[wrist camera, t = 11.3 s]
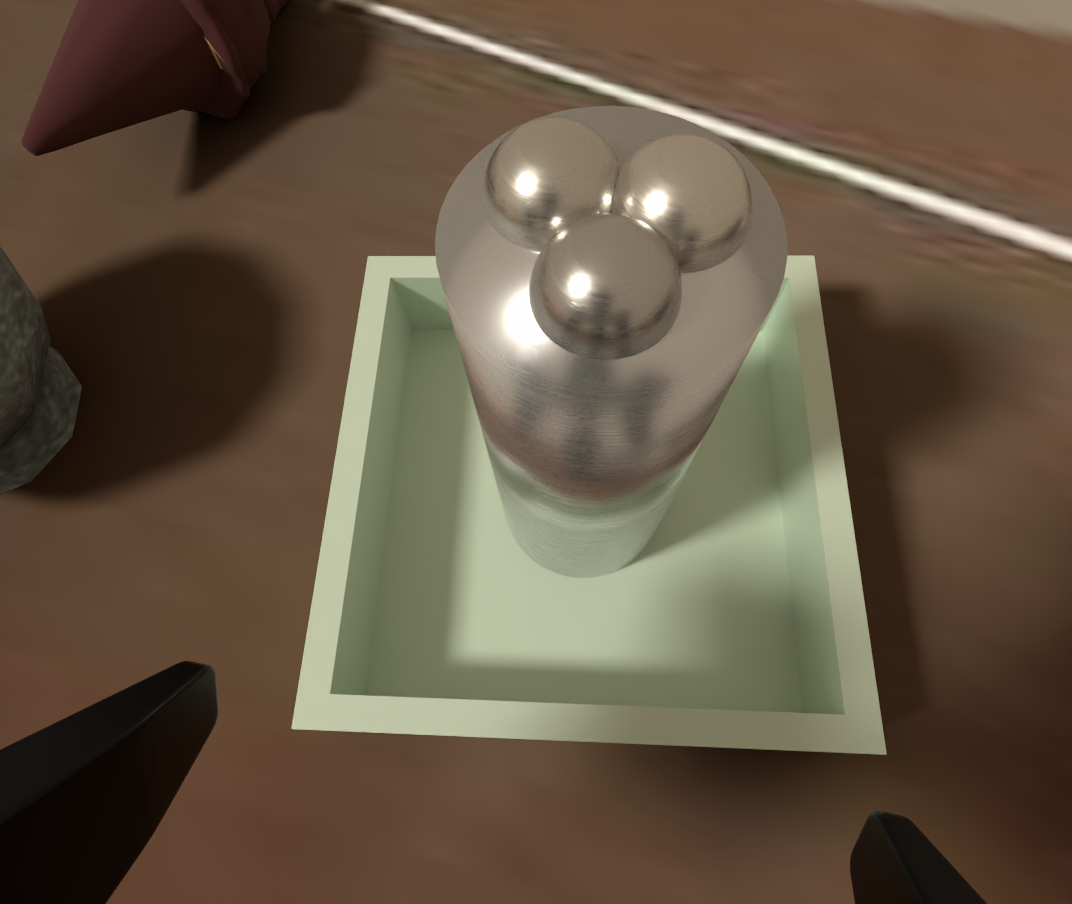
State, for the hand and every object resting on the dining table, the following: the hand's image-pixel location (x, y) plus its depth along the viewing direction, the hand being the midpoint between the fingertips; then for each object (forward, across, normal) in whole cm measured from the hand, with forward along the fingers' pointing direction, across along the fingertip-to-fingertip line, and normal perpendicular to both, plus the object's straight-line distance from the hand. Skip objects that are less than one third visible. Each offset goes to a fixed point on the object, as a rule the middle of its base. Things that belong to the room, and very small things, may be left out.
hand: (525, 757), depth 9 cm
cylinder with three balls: (+12, 0, +2) cm, 12 cm away
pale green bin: (+12, 0, +2) cm, 12 cm away
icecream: (+23, +19, -8) cm, 31 cm away
